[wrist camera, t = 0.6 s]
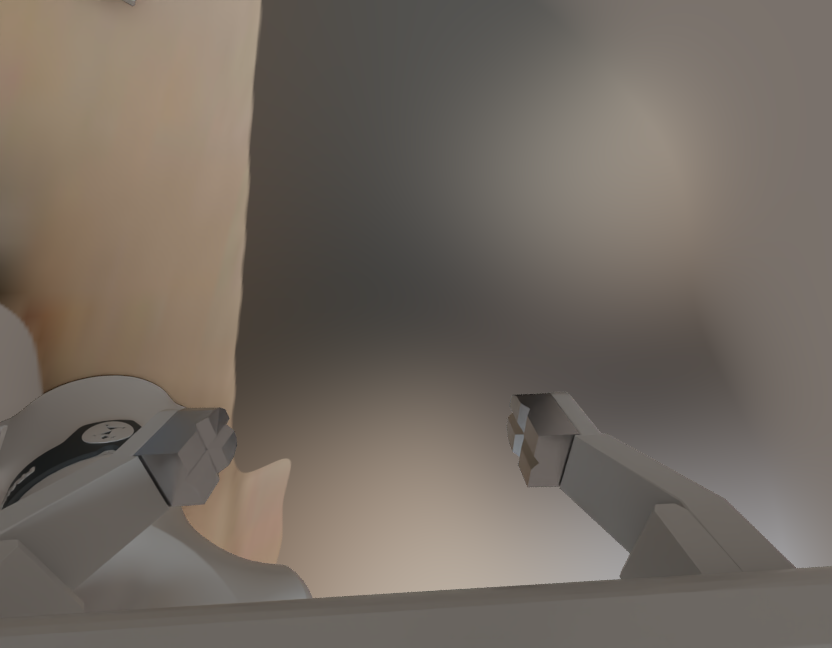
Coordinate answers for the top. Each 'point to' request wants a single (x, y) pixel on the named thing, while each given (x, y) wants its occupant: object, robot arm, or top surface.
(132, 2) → the security camera
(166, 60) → the top surface
